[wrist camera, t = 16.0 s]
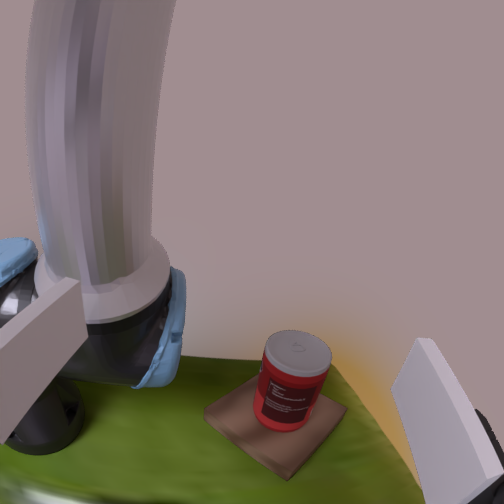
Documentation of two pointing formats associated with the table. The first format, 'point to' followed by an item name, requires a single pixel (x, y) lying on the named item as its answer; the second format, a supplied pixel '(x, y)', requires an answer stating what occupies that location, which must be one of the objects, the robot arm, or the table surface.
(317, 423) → the walnut base
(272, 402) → the canned food
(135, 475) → the table surface
